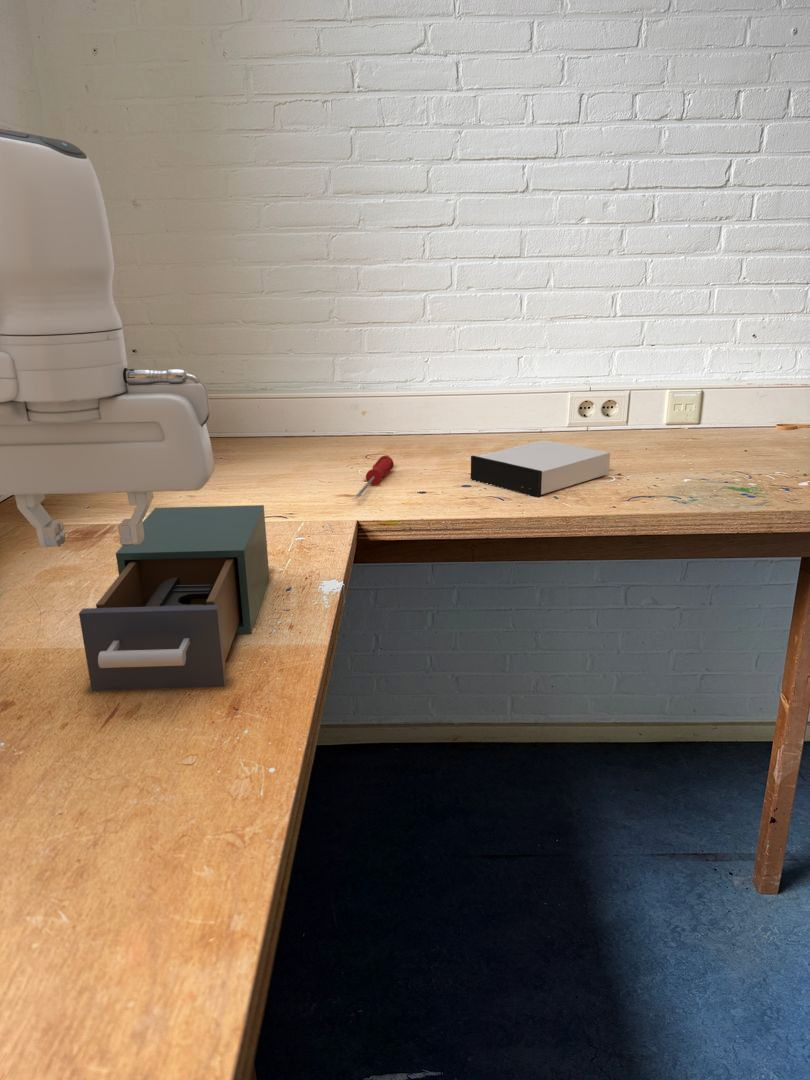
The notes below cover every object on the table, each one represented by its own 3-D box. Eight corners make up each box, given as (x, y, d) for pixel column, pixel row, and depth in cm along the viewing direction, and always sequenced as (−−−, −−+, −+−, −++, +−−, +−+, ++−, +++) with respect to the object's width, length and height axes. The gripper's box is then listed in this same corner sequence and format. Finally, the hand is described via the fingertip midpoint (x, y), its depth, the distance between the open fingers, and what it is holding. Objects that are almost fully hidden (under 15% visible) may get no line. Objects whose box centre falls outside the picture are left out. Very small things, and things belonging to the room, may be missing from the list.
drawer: (217, 710, 78) (208, 628, 75) (76, 714, 78) (62, 632, 75) (248, 619, 98) (242, 551, 95) (136, 622, 97) (127, 554, 94)
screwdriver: (348, 505, 146) (347, 486, 145) (378, 470, 169) (377, 454, 168) (367, 506, 145) (366, 487, 144) (394, 471, 168) (394, 455, 167)
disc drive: (470, 479, 161) (470, 455, 159) (541, 460, 175) (542, 438, 173) (538, 497, 148) (539, 471, 147) (609, 475, 162) (611, 451, 161)
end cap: (158, 630, 93) (151, 576, 90) (219, 629, 93) (214, 575, 90) (132, 673, 83) (123, 614, 81) (200, 671, 83) (193, 612, 81)
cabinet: (251, 633, 96) (244, 549, 93) (127, 637, 96) (115, 553, 92) (269, 577, 113) (263, 505, 109) (164, 580, 113) (155, 507, 109)
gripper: (213, 362, 63) (229, 528, 68) (-50, 367, 62) (-16, 534, 67) (196, 373, 57) (215, 554, 62) (-94, 379, 56) (-54, 561, 61)
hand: (93, 544), depth 64 cm, fingers open, 5 cm apart
